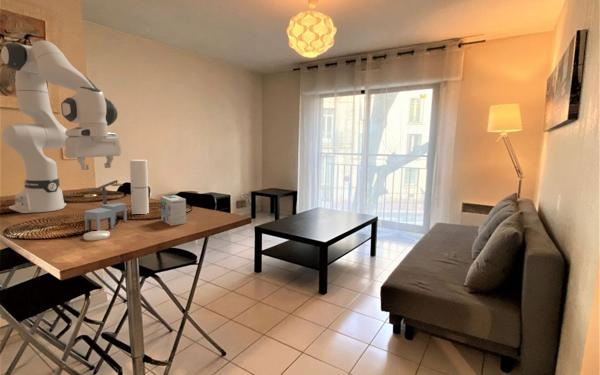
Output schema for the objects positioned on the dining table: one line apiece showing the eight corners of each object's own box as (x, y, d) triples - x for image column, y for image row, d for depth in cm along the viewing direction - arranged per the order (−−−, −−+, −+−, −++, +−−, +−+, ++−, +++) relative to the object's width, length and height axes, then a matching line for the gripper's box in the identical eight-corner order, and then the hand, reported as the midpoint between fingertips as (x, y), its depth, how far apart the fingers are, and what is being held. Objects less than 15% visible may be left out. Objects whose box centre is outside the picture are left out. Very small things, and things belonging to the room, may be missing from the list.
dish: (77, 238, 109) (77, 235, 109) (98, 232, 117) (98, 229, 117) (95, 241, 107) (95, 238, 107) (115, 235, 114) (115, 232, 114)
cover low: (85, 230, 118) (84, 211, 117) (101, 226, 125) (100, 207, 123) (98, 232, 116) (97, 213, 115) (113, 228, 123) (112, 209, 121)
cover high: (101, 222, 129) (100, 205, 128) (115, 219, 135) (114, 202, 134) (113, 224, 127) (112, 206, 126) (126, 220, 133) (126, 203, 132)
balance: (81, 222, 128) (79, 183, 125) (117, 213, 144) (115, 179, 141) (92, 224, 126) (90, 185, 124) (127, 215, 142) (126, 180, 140)
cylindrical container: (141, 215, 143) (140, 161, 139) (128, 214, 144) (126, 160, 140) (152, 212, 150) (150, 160, 146) (139, 210, 151) (137, 159, 147)
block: (91, 230, 119) (90, 220, 119) (100, 227, 123) (100, 217, 122) (99, 231, 118) (98, 221, 117) (108, 229, 122) (108, 219, 121)
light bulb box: (160, 220, 137) (160, 196, 135) (176, 218, 141) (175, 194, 140) (171, 226, 129) (170, 200, 128) (186, 223, 134) (186, 198, 132)
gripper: (111, 132, 127) (114, 166, 129) (60, 130, 108) (64, 170, 110) (123, 132, 125) (126, 167, 127) (73, 131, 106) (77, 171, 108)
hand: (96, 168), depth 118 cm, fingers open, 8 cm apart
